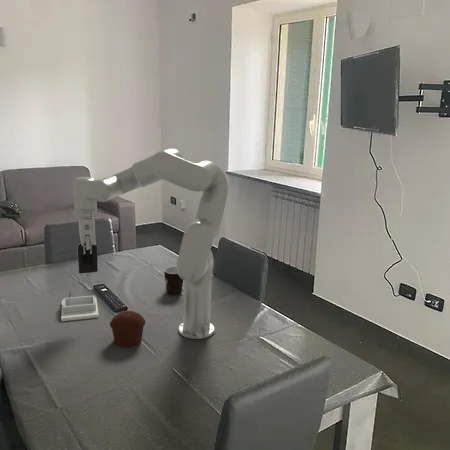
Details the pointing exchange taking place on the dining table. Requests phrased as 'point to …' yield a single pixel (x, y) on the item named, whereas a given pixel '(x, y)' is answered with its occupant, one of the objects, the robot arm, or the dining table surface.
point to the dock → (79, 308)
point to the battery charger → (81, 266)
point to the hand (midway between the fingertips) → (87, 261)
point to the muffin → (127, 328)
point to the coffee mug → (173, 281)
